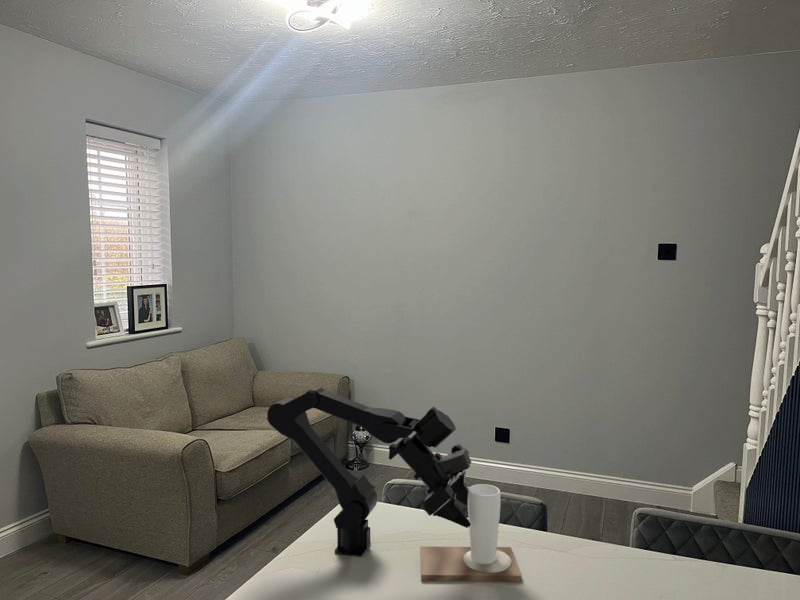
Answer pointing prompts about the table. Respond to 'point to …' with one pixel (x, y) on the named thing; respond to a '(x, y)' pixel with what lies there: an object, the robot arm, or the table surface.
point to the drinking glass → (483, 522)
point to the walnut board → (466, 565)
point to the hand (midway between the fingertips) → (472, 517)
